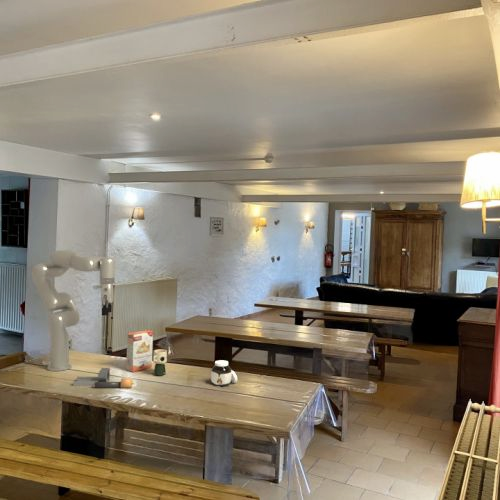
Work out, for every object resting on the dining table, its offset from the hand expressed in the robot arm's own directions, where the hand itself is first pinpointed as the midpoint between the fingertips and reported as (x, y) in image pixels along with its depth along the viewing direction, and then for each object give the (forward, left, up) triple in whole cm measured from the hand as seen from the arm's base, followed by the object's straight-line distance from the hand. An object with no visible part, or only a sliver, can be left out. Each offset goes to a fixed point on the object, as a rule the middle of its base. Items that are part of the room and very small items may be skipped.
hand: (106, 313), depth 256 cm
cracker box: (+16, +13, -34) cm, 39 cm away
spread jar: (+62, -15, -34) cm, 72 cm away
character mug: (+28, +2, -34) cm, 44 cm away
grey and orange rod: (+8, -19, -33) cm, 39 cm away
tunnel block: (-5, -11, -33) cm, 35 cm away
